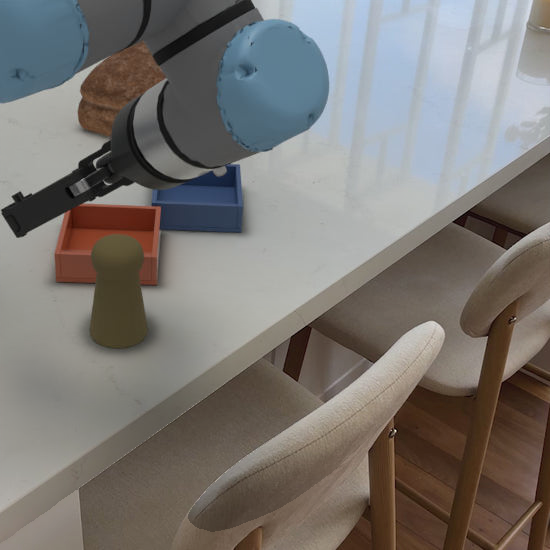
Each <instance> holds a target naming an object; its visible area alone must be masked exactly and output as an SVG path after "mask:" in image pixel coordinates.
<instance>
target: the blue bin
mask: <svg viewBox="0 0 550 550" xmlns="http://www.w3.org/2000/svg"><path fill="white" fill-rule="evenodd" d="M225 167H226V170H227V172H226V173H225V174H224V175H222V176H219V177H217V176H216V175H215V174H214V172H213V170H212V171H210V172H208V173H206V174H203V175H201V176H198V177H196V178H194V179H193V180H190V181H188V182H185V183H183V184H180V185H178V186H176V187H173V188H170V189H165V190H154V189H152V193H151V205H150V206H158V207H161V230H167V231H168V230H169V231H188V232H189V231H192V232H220V233H242V227H243V215H244V214H243V212H244V201H243V185H242V172H241V164H239V163H231V164H228V165H226V166H225Z"/></svg>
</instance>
